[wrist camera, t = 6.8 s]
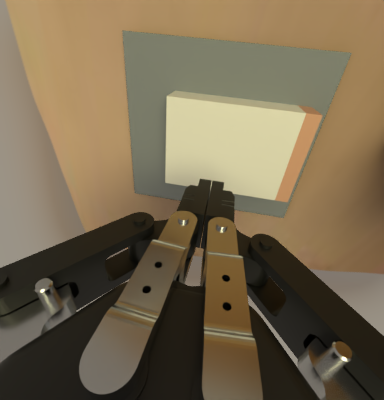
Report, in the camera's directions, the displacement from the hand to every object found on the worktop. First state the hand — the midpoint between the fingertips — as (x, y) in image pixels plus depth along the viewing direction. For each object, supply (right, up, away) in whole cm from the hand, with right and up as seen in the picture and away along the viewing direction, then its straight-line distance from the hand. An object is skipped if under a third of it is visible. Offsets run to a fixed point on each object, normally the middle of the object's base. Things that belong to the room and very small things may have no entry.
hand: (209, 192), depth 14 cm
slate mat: (+1, +6, +9) cm, 10 cm away
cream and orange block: (-3, +5, +7) cm, 10 cm away
